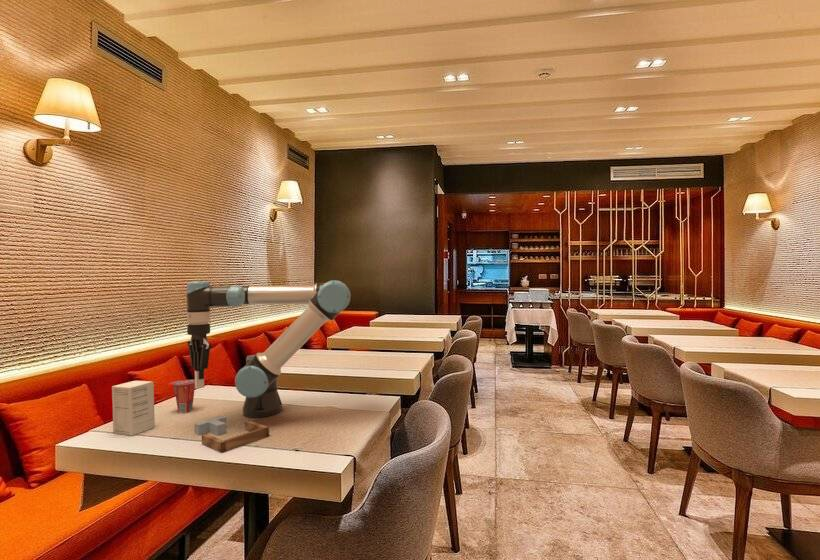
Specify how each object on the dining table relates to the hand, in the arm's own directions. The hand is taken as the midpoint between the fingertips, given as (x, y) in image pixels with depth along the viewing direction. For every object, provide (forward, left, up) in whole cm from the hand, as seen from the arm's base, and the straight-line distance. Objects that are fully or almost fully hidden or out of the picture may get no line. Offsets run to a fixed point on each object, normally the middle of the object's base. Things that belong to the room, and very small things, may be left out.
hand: (199, 387), depth 155 cm
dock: (+23, 0, -14) cm, 27 cm away
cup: (-24, +5, -14) cm, 28 cm away
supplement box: (-16, -16, -14) cm, 27 cm away
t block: (+10, 0, -14) cm, 17 cm away
